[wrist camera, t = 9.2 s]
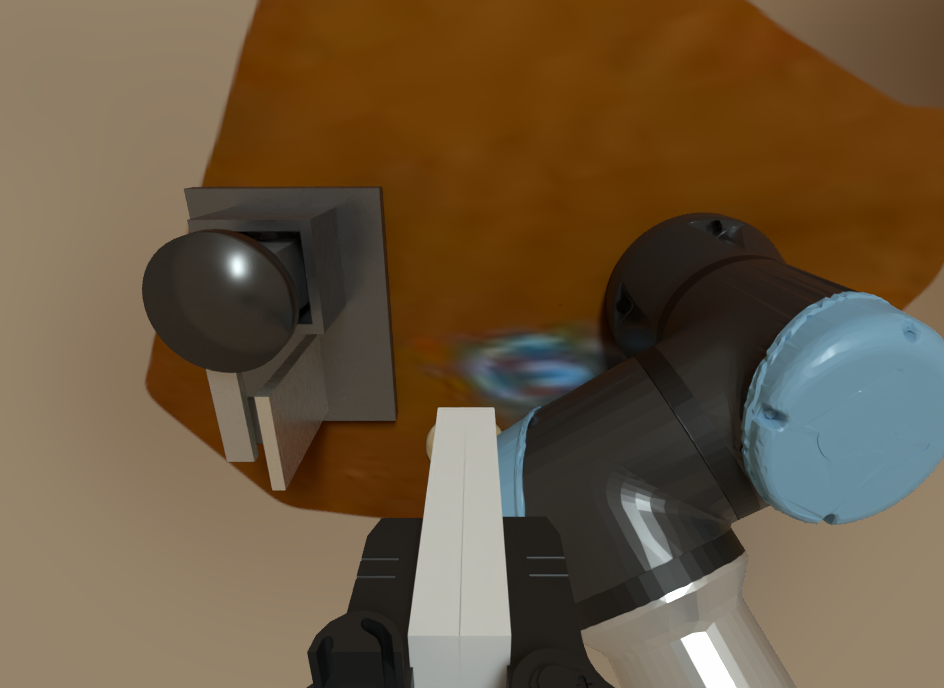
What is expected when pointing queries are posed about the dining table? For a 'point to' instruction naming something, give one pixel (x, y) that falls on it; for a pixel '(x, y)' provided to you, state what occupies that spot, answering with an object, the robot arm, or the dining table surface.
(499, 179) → the dining table surface
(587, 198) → the dining table surface
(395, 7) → the dining table surface
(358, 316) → the press stand
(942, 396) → the robot arm
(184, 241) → the black ball joystick
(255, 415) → the grey flat block
